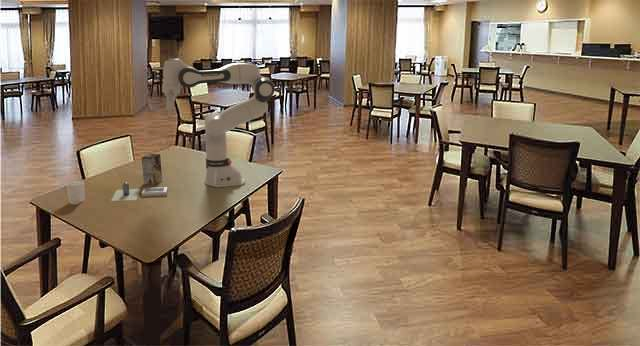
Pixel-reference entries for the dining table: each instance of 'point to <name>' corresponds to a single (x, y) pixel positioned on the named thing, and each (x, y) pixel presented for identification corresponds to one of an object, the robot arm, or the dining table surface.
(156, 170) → the coffee box
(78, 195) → the white cup
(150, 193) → the rectangular frame
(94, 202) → the dining table surface
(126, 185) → the post
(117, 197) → the keeper plate
